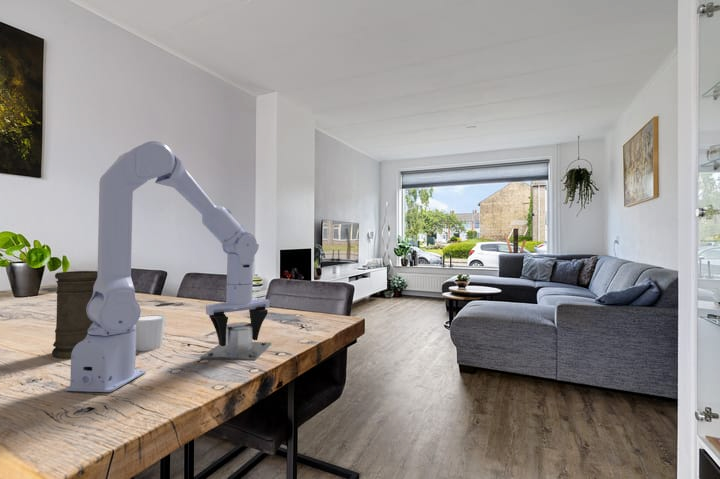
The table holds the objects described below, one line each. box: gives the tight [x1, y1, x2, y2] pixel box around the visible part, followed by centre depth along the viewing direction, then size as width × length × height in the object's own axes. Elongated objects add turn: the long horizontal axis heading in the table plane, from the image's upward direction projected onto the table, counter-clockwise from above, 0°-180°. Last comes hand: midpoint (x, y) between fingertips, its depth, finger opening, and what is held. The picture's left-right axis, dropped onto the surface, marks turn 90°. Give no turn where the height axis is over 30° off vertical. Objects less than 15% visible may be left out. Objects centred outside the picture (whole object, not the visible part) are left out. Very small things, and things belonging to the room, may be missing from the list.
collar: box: [225, 321, 253, 353], centre depth 83 cm, size 6×6×6 cm
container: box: [51, 270, 98, 359], centre depth 80 cm, size 9×9×18 cm
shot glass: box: [135, 314, 166, 352], centre depth 84 cm, size 7×7×7 cm
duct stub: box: [200, 341, 272, 361], centre depth 83 cm, size 12×12×3 cm
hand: (238, 342), depth 83 cm, fingers open, 7 cm apart
